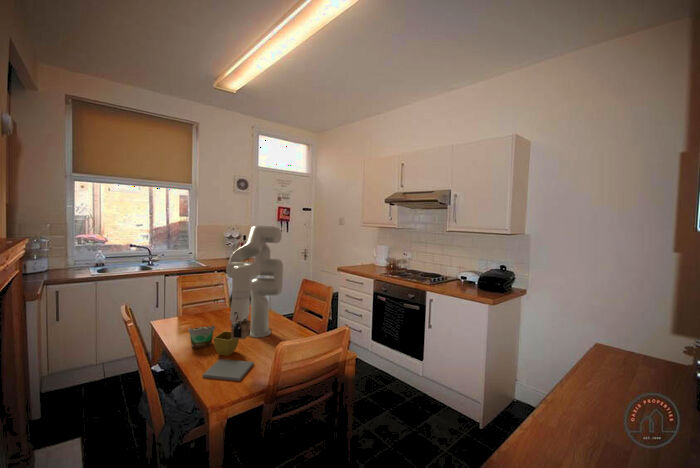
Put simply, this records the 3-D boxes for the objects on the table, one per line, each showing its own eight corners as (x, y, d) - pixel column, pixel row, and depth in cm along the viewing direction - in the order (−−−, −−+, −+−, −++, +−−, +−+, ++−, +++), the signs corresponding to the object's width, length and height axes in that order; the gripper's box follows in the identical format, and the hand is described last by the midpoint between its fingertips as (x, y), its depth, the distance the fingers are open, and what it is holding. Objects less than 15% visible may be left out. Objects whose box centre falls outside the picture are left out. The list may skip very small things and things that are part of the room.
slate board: (220, 361, 145) (220, 358, 145) (253, 364, 143) (253, 361, 143) (202, 377, 131) (202, 374, 131) (239, 381, 129) (239, 378, 129)
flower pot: (229, 358, 148) (229, 340, 147) (212, 356, 149) (213, 337, 149) (239, 350, 156) (239, 333, 155) (223, 348, 158) (224, 330, 157)
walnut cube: (237, 332, 141) (237, 319, 140) (250, 333, 140) (250, 320, 140) (231, 338, 135) (231, 324, 134) (244, 339, 135) (245, 325, 134)
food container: (188, 351, 153) (188, 331, 152) (188, 346, 158) (188, 327, 157) (215, 347, 158) (216, 328, 158) (214, 342, 164) (215, 324, 163)
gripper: (241, 288, 145) (240, 326, 146) (223, 298, 128) (223, 341, 129) (257, 289, 145) (256, 327, 146) (241, 299, 128) (240, 342, 129)
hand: (240, 333), depth 138 cm, fingers closed on walnut cube, 6 cm apart
